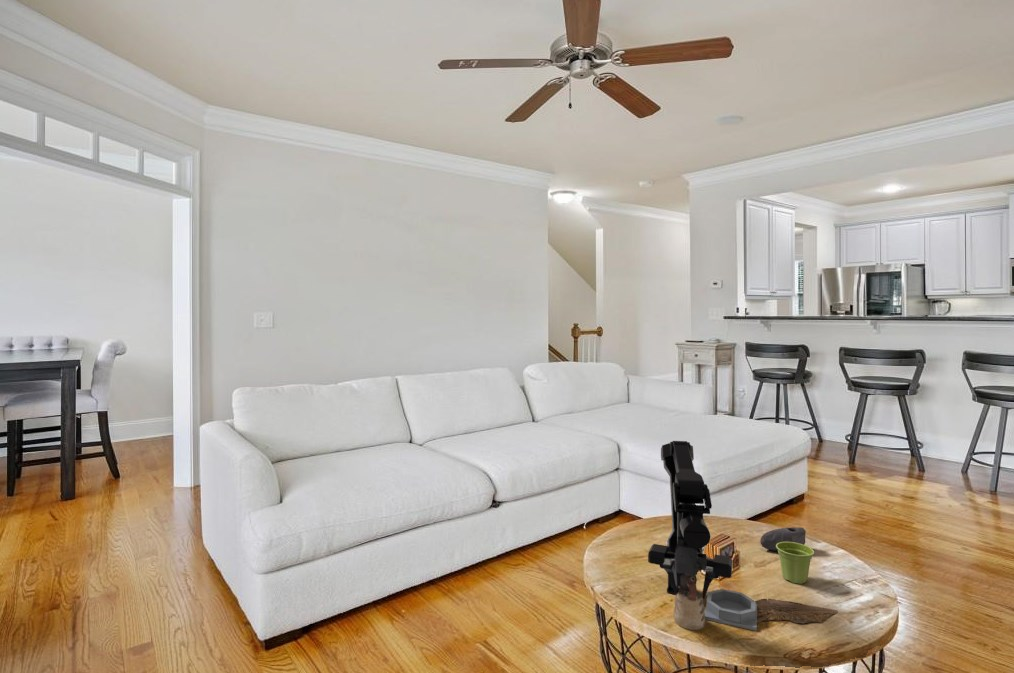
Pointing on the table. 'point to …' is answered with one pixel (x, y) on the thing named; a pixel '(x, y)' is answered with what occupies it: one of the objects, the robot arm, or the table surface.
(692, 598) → the figurine
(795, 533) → the perforated stone tool
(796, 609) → the wooden fragment
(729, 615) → the tray
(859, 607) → the table surface
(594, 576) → the table surface
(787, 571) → the plant pot
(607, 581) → the table surface
